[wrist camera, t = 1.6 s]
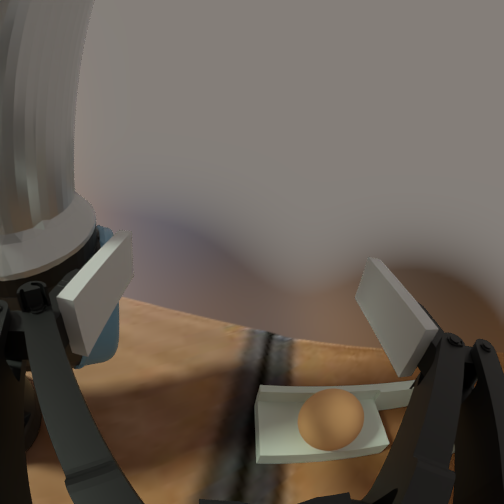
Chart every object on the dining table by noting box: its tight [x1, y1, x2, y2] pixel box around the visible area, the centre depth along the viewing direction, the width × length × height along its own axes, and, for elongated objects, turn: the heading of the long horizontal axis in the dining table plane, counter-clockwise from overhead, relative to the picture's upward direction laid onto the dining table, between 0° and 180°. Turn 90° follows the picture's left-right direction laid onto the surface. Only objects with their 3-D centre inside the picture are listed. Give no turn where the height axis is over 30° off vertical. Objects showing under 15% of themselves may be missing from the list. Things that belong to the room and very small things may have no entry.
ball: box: [298, 388, 364, 451], centre depth 25 cm, size 7×7×7 cm
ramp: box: [254, 380, 455, 464], centre depth 27 cm, size 28×12×5 cm, turn 91°
